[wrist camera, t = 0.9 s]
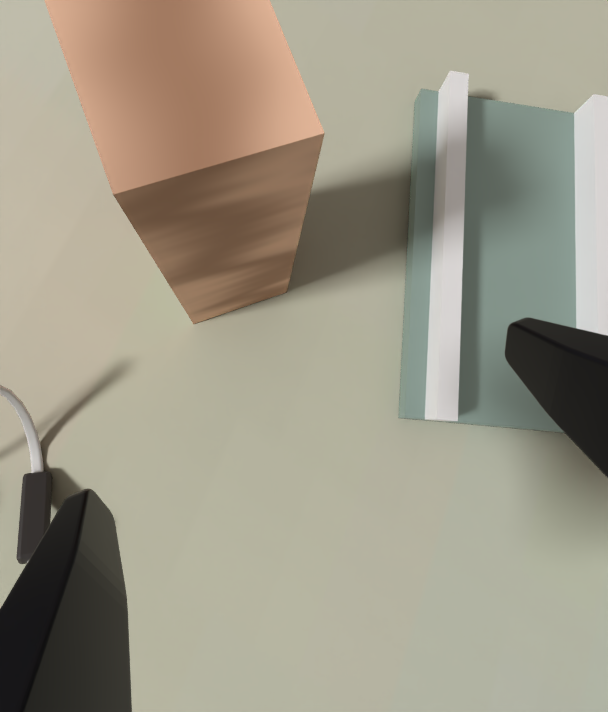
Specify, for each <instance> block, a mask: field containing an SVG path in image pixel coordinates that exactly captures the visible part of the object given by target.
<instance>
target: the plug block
mask: <svg viewBox="0 0 608 712" xmlns="http://www.w3.org/2000/svg"><path fill="white" fill-rule="evenodd" d="M45 3H46V6H47V9H48V11H49V14H50V17H51V20H52V23H53V26H54V28H55V31H56V34H57V37H58V40H59V43H60V45H61V48H62V51H63V54H64V57H65V60H66V62H67V65H68V68H69V71H70V74H71V76H72V79H73V82H74V85H75V88H76V91H77V93H78V96H79V99H80V102H81V105H82V108H83V110H84V113H85V116H86V119H87V122H88V124H89V127H90V130H91V133H92V136H93V139H94V141H95V144H96V147H97V150H98V153H99V156H100V158H101V161H102V164H103V167H104V170H105V172H106V175H107V178H108V181H109V184H110V187H111V189H112V192H113V195H114V196H115V198H116V200H117V201H118V203H119V205H120V206H121V208H122V209H123V211H124V213H125V214H126V216H127V217H128V219H129V221H130V222H131V224H132V225H133V227H134V229H135V230H136V232H137V234H138V235H139V237H140V238H141V240H142V242H143V243H144V245H145V246H146V248H147V250H148V251H149V253H150V255H151V256H152V258H153V259H154V261H155V263H156V264H157V266H158V267H159V269H160V271H161V272H162V274H163V275H164V277H165V279H166V280H167V282H168V284H169V285H170V287H171V288H172V290H173V292H174V293H175V295H176V296H177V298H178V300H179V301H180V303H181V305H182V306H183V308H184V309H185V311H186V313H187V314H188V316H189V317H190V319H191V321H192V322H193V324H195V323H198V322H201V321H204V320H207V319H210V318H213V317H216V316H219V315H222V314H225V313H227V312H230V311H233V310H236V309H239V308H242V307H245V306H248V305H251V304H254V303H257V302H260V301H262V300H265V299H268V298H271V297H274V296H277V295H280V294H283V293H286V292H287V289H288V285H289V281H290V276H291V272H292V268H293V264H294V260H295V255H296V251H297V247H298V243H299V239H300V234H301V230H302V226H303V222H304V217H305V213H306V209H307V205H308V201H309V196H310V192H311V188H312V184H313V180H314V175H315V171H316V167H317V163H318V159H319V154H320V150H321V146H322V142H323V138H324V131H323V128H322V126H321V123H320V121H319V119H318V116H317V114H316V111H315V109H314V106H313V104H312V102H311V99H310V97H309V94H308V92H307V90H306V87H305V85H304V82H303V80H302V77H301V75H300V73H299V70H298V68H297V65H296V63H295V61H294V58H293V56H292V53H291V51H290V48H289V46H288V44H287V41H286V39H285V36H284V34H283V31H282V29H281V27H280V24H279V22H278V19H277V17H276V15H275V12H274V10H273V7H272V5H271V2H270V0H45Z"/></svg>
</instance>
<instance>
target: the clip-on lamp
mask: <svg viewBox="0 0 608 712" xmlns="http://www.w3.org/2000/svg"><path fill="white" fill-rule="evenodd" d="M0 395H2V396H4V397H6V399H7V400H8V401H9V402H10V403H11V405H12V406H13V407H14V409H15V410H16V412H17V414H18V416H19V418H20V420H21V422H22V425H23V428H24V431H25V434H26V437H27V441H28V446H29V450H30V458H31V473H28V474H25V475H24V477H23V483H22V496H21V508H20V521H19V533H18V546H17V560H18V562H19V563H20V564H25V563H28V561H29V559H30V558H31V556H32V554H33V553H34V551H35V549H36V547H37V546H38V544H39V542H40V541H41V539H42V537H43V536H44V534H45V532H46V530H47V529H48V527H49V525H50V516H51V492H52V476H51V473H50V472H48V471H44V469H43V458H42V451H41V446H40V442H39V438H38V434H37V431H36V428H35V426H34V423H33V421H32V418H31V416H30V414H29V412H28V411H27V409H26V407H25V406H24V404H23V402H22V401H21V400H20V399H19V398H18V397H17V396H16V395H15V394H14V393H13V392H12V391H11V390H10V389H8V388H5V387H3V386H1V385H0Z"/></svg>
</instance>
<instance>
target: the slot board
mask: <svg viewBox="0 0 608 712" xmlns="http://www.w3.org/2000/svg"><path fill="white" fill-rule="evenodd" d="M468 76H469V74H467V73H461V72H455V71H450V72H449V74H448V75H447V77H446V79H445V81H444V83H443V84H442V86H441V88H440V90H439V92H438V91H432V90H426V89H421V90H420V92H419V94H418V96H417V98H416V100H415V107H414V126H413V146H412V165H411V184H410V204H409V223H408V243H407V262H406V282H405V301H404V320H403V340H402V359H401V379H400V398H399V418H404V419H415V420H426V421H437V422H448V423H460V424H471V425H482V426H493V427H504V428H515V429H527V430H538V431H549V432H560V433H565V432H564V431H563V430H562V429H561V428H560V427H559V426H558V425H557V424H556V423H555V422H554V421H553V420H552V419H551V417H550V416H549V415H548V414H547V413H546V412H545V410H544V409H543V408H542V407H541V405H540V404H539V403H538V401H537V400H536V399H535V398H534V396H533V395H532V394H531V392H530V391H529V390H528V389H527V387H526V386H525V385H524V383H523V382H522V381H521V379H520V378H519V377H518V376H517V374H516V373H515V372H514V370H513V369H512V368H511V367H510V365H509V364H508V362H507V360H506V358H505V344H506V336H507V329H508V326H509V325H510V324H511V323H512V322H515V321H518V320H520V319H523V318H526V317H530V318H534V319H539V320H543V321H547V322H551V323H556V324H560V325H564V326H569V327H573V328H577V329H582V330H586V331H590V332H594V333H599V334H603V335H607V336H608V97H607V96H601V95H595V94H593V95H592V96H591V97H590V98H589V99H588V100H587V101H586V102H585V103H584V104H583V105H582V106H581V107H580V108H579V109H578V110H577V111H576V112H575V113H570V112H564V111H557V110H551V109H545V108H539V107H532V106H526V105H520V104H514V103H507V102H501V101H495V100H488V99H482V98H476V97H470V96H468Z"/></svg>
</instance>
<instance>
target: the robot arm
mask: <svg viewBox="0 0 608 712" xmlns="http://www.w3.org/2000/svg"><path fill="white" fill-rule="evenodd" d="M505 358H506V360H507V362H508V364H509V365H510V367H511V368H512V369H513V370H514V372H515V373H516V374H517V376H518V377H519V378H520V379H521V381H522V382H523V383H524V385H525V386H526V387H527V389H528V390H529V391H530V392H531V394H532V395H533V396H534V398H535V399H536V400H537V401H538V403H539V404H540V405H541V407H542V408H543V409H544V410H545V412H546V413H547V414H548V415H549V416H550V417H551V419H552V420H553V421H554V422H555V423H556V424H557V425H558V426H559V427H560V428H561V429H562V430H563V431H564V432H565V434H566V435H567V436H568V437H569V438H570V439H571V440H572V441H573V442H574V443H575V444H576V445H577V446H578V447H579V448H580V449H581V450H582V451H583V452H584V453H585V454H586V456H587V457H588V458H589V459H590V460H591V461H592V462H593V463H594V464H595V465H596V466H597V467H598V468H599V469H600V470H601V471H602V472H603V473H604V474H605V475H606V476H607V478H608V336H607V335H603V334H599V333H594V332H590V331H586V330H582V329H577V328H573V327H569V326H564V325H560V324H556V323H551V322H547V321H543V320H539V319H534V318H530V317H526V318H523V319H520V320H518V321H515V322H512V323H511V324H510V325H509V326H508V329H507V336H506V344H505ZM0 712H132V705H131V680H130V655H129V631H128V608H127V596H126V589H125V582H124V576H123V570H122V564H121V557H120V551H119V545H118V539H117V533H116V527H115V521H114V518H113V515H112V513H111V512H110V510H109V509H108V508H107V506H106V505H105V504H104V503H103V502H102V500H101V499H100V498H99V497H98V495H97V494H96V493H95V492H94V491H93V490H92V489H84V490H82V491H79V492H76V493H74V494H71V495H69V496H68V497H67V498H66V499H65V500H64V501H63V503H62V505H61V507H60V508H59V510H58V512H57V513H56V515H55V517H54V518H53V520H52V522H51V524H50V525H49V527H48V529H47V530H46V532H45V534H44V536H43V537H42V539H41V541H40V542H39V544H38V546H37V547H36V549H35V551H34V553H33V554H32V556H31V558H30V559H29V561H28V563H27V564H26V566H25V568H24V570H23V571H22V573H21V575H20V576H19V578H18V580H17V581H16V583H15V585H14V587H13V588H12V590H11V592H10V593H9V595H8V597H7V599H6V600H5V602H4V604H3V605H2V607H1V609H0Z"/></svg>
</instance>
